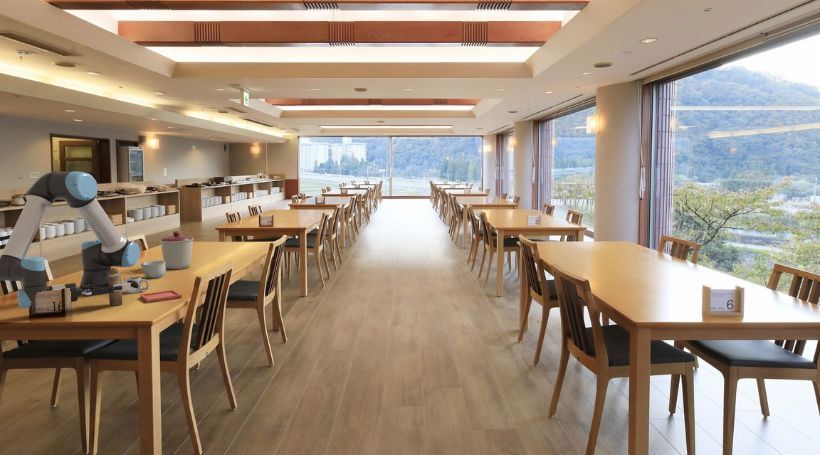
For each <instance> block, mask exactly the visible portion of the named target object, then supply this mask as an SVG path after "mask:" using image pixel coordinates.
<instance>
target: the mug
mask: <svg viewBox="0 0 820 455" xmlns="http://www.w3.org/2000/svg"><path fill="white" fill-rule="evenodd" d="M124 281H127V283H130V285H131V290H124V291H125V294H127V295H130V294H135V295H136V294H139V293H140V294H141V293H142V291H147V290H149V288H150V285H149V284H150V283H149V280H148V279H144V278H142V277H141V276H128V277H125V278H124ZM142 282H143V283H144V282H145V283H146V286H145V287H142Z"/></svg>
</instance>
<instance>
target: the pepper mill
mask: <svg viewBox="0 0 820 455" xmlns="http://www.w3.org/2000/svg"><path fill="white" fill-rule="evenodd" d="M121 281H122V277H121V275H120V272H119V270H118V268H117V267H111V270H110V274H109V276H108V286H113V285H118V284H121ZM109 290H110V289H109ZM108 300H109V307H110V306H111V307H115V306H122V305H123V292H122V291H116V292H114V294H112V293H109V294H108Z"/></svg>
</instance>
